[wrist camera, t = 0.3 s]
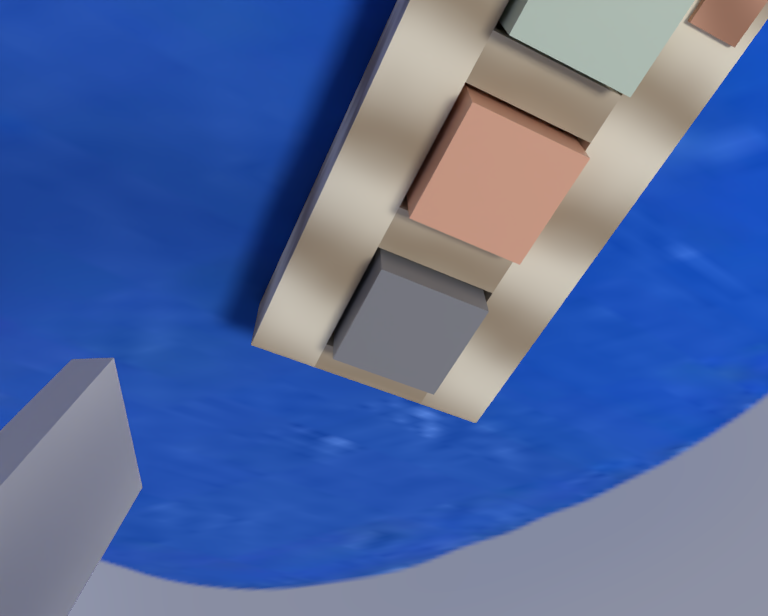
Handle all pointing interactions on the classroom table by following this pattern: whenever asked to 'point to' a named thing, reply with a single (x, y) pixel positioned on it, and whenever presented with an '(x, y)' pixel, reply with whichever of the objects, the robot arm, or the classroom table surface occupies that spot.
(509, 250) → the terracotta button
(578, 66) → the sage button
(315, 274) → the button panel
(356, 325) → the charcoal button
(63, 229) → the classroom table surface
